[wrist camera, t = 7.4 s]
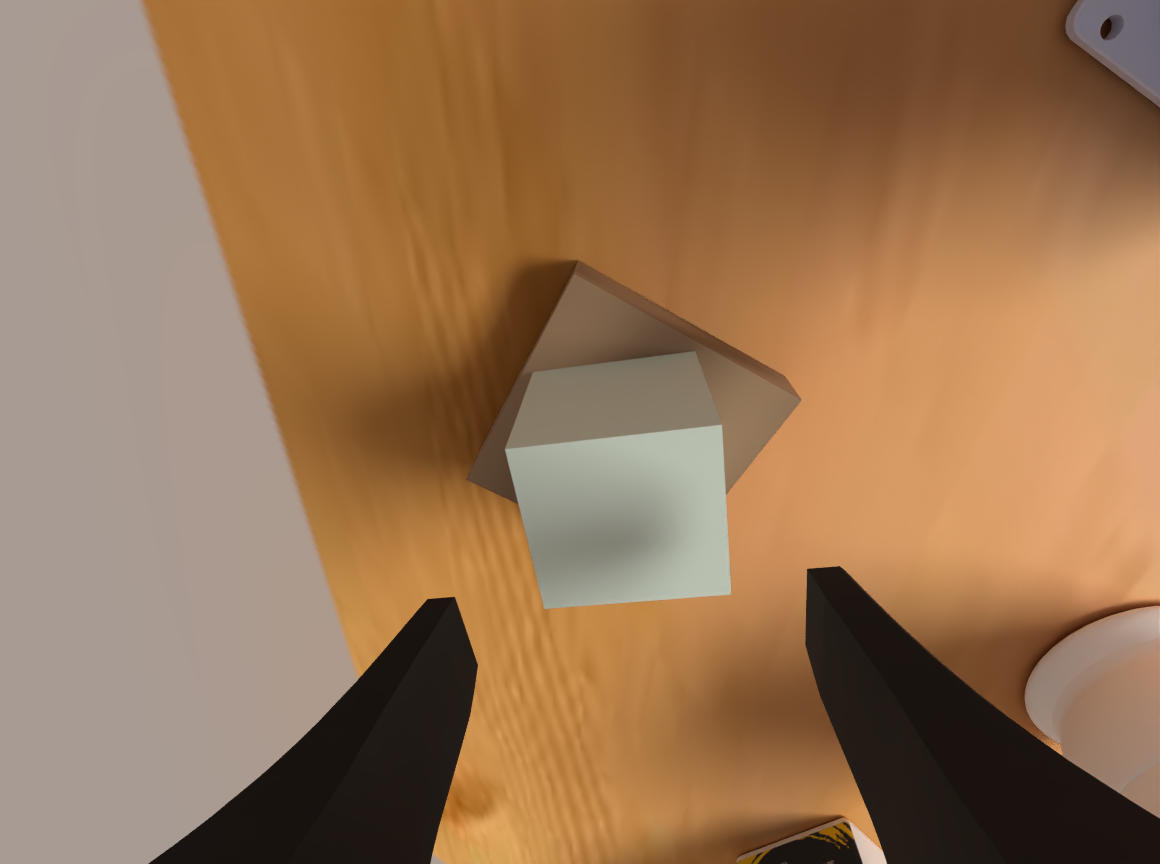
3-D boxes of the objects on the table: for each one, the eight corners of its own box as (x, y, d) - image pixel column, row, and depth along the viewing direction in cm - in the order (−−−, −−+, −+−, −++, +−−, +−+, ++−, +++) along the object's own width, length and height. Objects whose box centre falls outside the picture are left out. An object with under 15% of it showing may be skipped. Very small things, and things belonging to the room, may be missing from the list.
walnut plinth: (784, 376, 20) (801, 400, 18) (660, 538, 23) (664, 572, 21) (578, 260, 18) (574, 273, 16) (478, 451, 22) (466, 479, 20)
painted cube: (694, 351, 17) (722, 424, 13) (705, 490, 19) (731, 594, 15) (532, 372, 18) (505, 449, 13) (560, 504, 20) (544, 609, 16)
